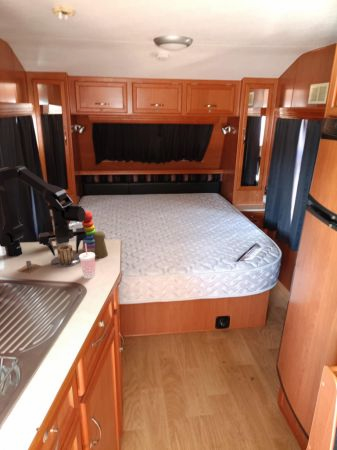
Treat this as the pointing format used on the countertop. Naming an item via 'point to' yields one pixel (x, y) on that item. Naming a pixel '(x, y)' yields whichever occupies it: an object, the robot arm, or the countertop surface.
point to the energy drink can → (55, 239)
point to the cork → (100, 245)
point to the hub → (57, 264)
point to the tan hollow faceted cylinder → (65, 254)
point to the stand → (29, 267)
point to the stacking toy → (89, 232)
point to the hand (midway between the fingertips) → (65, 254)
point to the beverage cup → (88, 263)
